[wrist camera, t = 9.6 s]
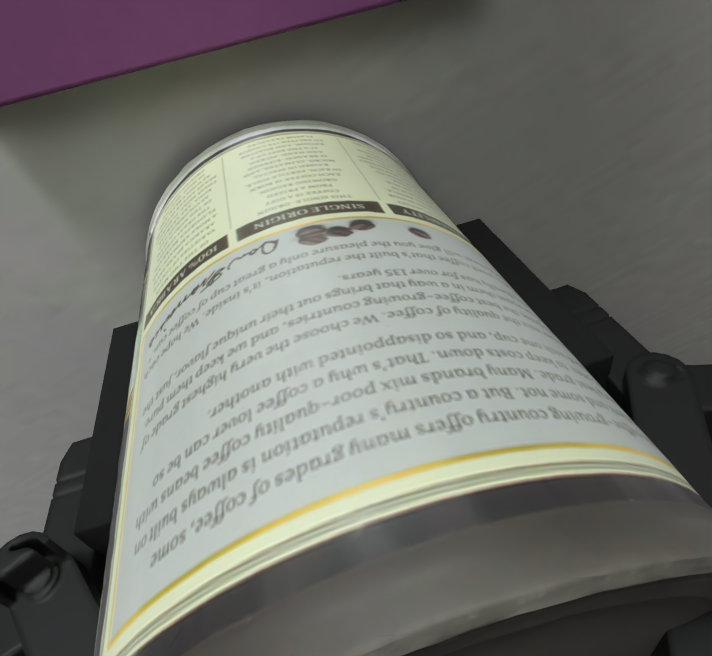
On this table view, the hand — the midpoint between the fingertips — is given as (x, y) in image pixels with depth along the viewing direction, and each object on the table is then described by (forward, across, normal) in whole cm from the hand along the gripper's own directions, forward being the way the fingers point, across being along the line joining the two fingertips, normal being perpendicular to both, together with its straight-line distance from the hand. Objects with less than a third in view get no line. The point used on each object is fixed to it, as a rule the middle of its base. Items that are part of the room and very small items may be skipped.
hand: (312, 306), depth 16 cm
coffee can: (+3, 0, 0) cm, 3 cm away
